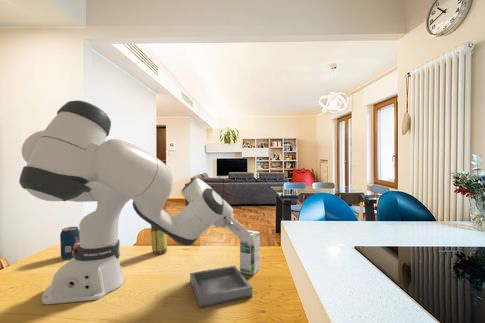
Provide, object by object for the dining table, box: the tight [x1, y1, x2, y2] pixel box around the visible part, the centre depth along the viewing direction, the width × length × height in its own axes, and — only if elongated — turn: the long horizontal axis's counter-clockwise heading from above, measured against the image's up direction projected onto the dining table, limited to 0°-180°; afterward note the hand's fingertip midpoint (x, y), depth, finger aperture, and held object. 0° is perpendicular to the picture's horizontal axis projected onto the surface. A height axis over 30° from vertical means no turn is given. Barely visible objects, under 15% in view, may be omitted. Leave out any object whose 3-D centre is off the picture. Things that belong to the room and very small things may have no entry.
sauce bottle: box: [150, 224, 168, 255], centre depth 113 cm, size 7×6×20 cm
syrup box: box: [239, 229, 261, 276], centre depth 95 cm, size 6×6×14 cm
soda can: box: [59, 226, 80, 260], centre depth 109 cm, size 7×7×12 cm
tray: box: [189, 265, 253, 309], centre depth 83 cm, size 16×16×3 cm
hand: (246, 238), depth 94 cm, fingers open, 8 cm apart
